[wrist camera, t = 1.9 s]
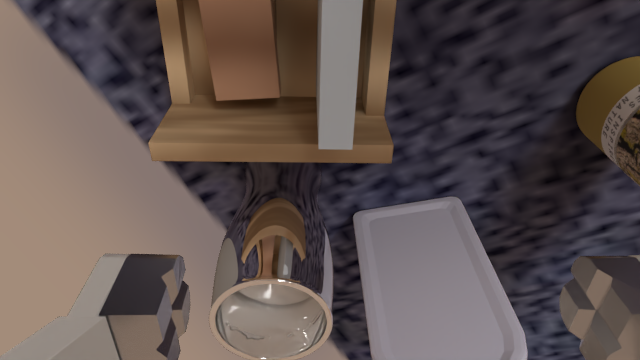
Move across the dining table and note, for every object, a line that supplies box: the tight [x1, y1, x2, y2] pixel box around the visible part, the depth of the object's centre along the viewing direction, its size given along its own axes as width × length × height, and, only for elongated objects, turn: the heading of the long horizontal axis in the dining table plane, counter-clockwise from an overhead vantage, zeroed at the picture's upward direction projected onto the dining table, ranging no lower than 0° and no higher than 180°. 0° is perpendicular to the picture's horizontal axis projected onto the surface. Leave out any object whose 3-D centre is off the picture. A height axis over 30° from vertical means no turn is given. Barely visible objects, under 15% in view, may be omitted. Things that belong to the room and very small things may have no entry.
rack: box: [149, 0, 397, 163], centre depth 27 cm, size 14×14×8 cm
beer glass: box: [209, 162, 334, 360], centre depth 31 cm, size 7×7×15 cm
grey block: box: [316, 0, 363, 150], centre depth 26 cm, size 10×2×9 cm, turn 179°
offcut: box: [198, 0, 281, 101], centre depth 27 cm, size 8×4×2 cm, turn 3°
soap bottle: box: [353, 197, 527, 360], centre depth 31 cm, size 9×7×23 cm
